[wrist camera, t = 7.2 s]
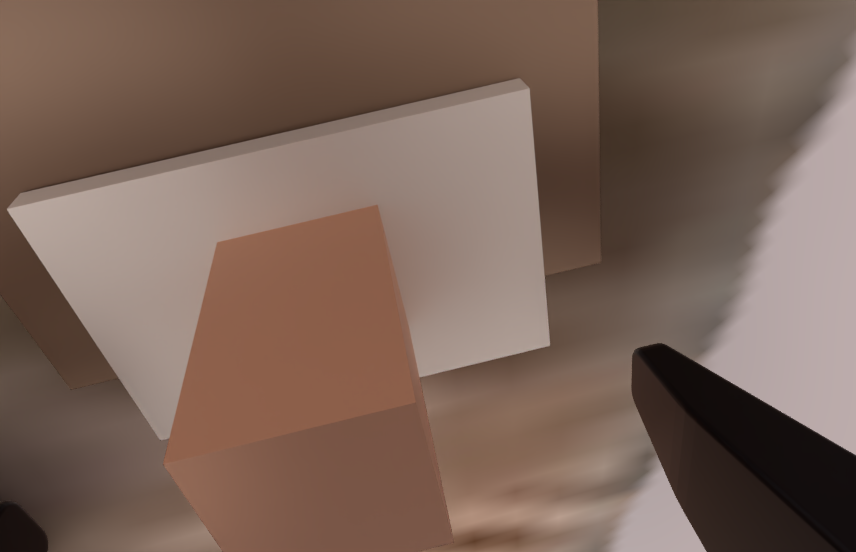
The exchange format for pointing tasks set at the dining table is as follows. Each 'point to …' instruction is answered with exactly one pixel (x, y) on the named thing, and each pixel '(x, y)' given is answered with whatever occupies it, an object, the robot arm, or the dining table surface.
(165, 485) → the dining table surface
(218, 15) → the ticket board
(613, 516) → the dining table surface
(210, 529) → the stub
